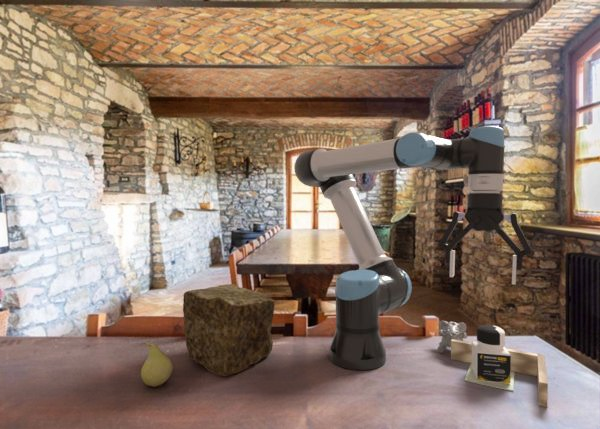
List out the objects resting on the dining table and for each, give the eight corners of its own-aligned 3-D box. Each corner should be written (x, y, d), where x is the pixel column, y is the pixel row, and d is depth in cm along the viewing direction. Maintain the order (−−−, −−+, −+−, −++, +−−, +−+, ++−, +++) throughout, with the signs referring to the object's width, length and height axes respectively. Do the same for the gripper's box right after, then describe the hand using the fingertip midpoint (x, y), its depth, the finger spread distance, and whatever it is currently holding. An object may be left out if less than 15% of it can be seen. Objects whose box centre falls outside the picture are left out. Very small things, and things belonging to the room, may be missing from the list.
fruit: (178, 380, 90) (177, 331, 90) (156, 395, 83) (155, 342, 83) (155, 376, 93) (154, 328, 92) (132, 391, 86) (131, 339, 85)
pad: (464, 380, 89) (464, 379, 89) (470, 364, 98) (470, 363, 98) (513, 391, 84) (513, 390, 84) (514, 373, 92) (514, 372, 92)
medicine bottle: (477, 381, 88) (477, 331, 88) (471, 368, 95) (471, 321, 95) (510, 384, 86) (511, 333, 86) (502, 371, 93) (503, 323, 93)
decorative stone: (226, 276, 116) (281, 283, 106) (226, 340, 116) (280, 354, 107) (172, 289, 97) (231, 299, 88) (172, 366, 98) (231, 384, 88)
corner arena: (439, 382, 88) (439, 361, 88) (451, 357, 103) (451, 339, 102) (547, 407, 77) (547, 383, 77) (544, 375, 92) (544, 355, 91)
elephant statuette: (441, 358, 103) (442, 331, 102) (428, 339, 115) (429, 315, 114) (475, 358, 102) (476, 331, 102) (458, 340, 114) (460, 315, 114)
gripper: (427, 192, 93) (425, 276, 94) (547, 192, 80) (543, 290, 81) (434, 192, 100) (431, 271, 101) (546, 192, 87) (541, 283, 88)
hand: (481, 279), depth 91 cm, fingers open, 13 cm apart
